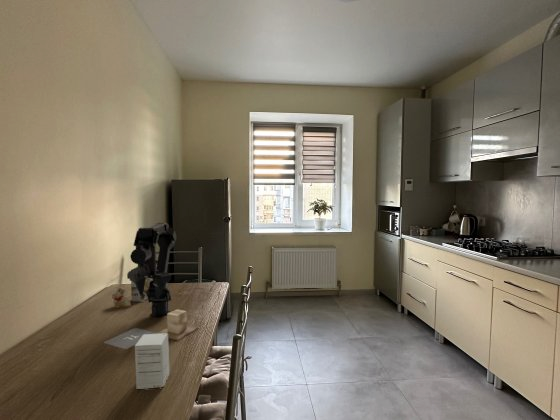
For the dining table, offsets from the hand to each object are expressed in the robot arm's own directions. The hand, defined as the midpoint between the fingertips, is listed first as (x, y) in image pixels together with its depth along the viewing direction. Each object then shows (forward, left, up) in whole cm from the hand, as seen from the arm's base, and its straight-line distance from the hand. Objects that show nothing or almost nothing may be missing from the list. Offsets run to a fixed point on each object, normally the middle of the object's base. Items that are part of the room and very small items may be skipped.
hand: (149, 296), depth 130 cm
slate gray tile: (+11, +2, -12) cm, 17 cm away
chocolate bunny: (-11, -31, -12) cm, 35 cm away
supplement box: (+28, +32, -12) cm, 44 cm away
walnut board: (0, +14, -12) cm, 19 cm away
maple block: (0, +14, -11) cm, 18 cm away
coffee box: (-23, -31, -12) cm, 41 cm away
